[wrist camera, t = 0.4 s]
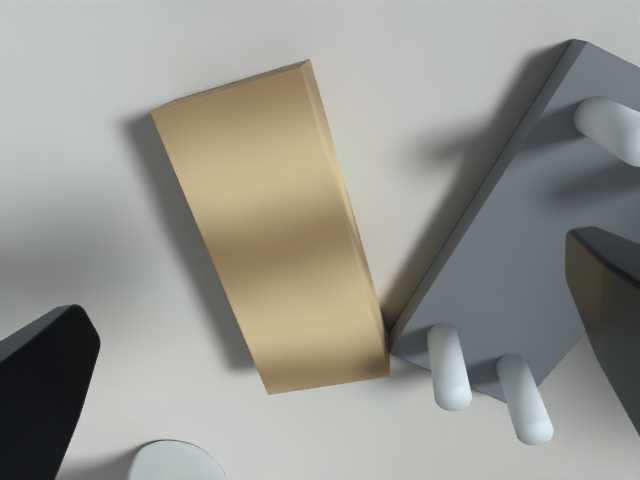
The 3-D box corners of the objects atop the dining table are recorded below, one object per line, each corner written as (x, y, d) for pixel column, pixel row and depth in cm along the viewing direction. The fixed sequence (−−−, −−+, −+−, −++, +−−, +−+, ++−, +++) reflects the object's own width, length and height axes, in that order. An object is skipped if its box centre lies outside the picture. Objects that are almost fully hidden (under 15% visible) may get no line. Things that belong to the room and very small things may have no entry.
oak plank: (389, 337, 26) (390, 376, 23) (279, 355, 27) (268, 394, 25) (310, 57, 21) (300, 67, 18) (178, 97, 22) (150, 111, 19)
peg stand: (512, 387, 26) (542, 479, 21) (388, 333, 25) (390, 414, 20) (732, 118, 19) (851, 159, 14) (573, 38, 19) (640, 52, 14)
